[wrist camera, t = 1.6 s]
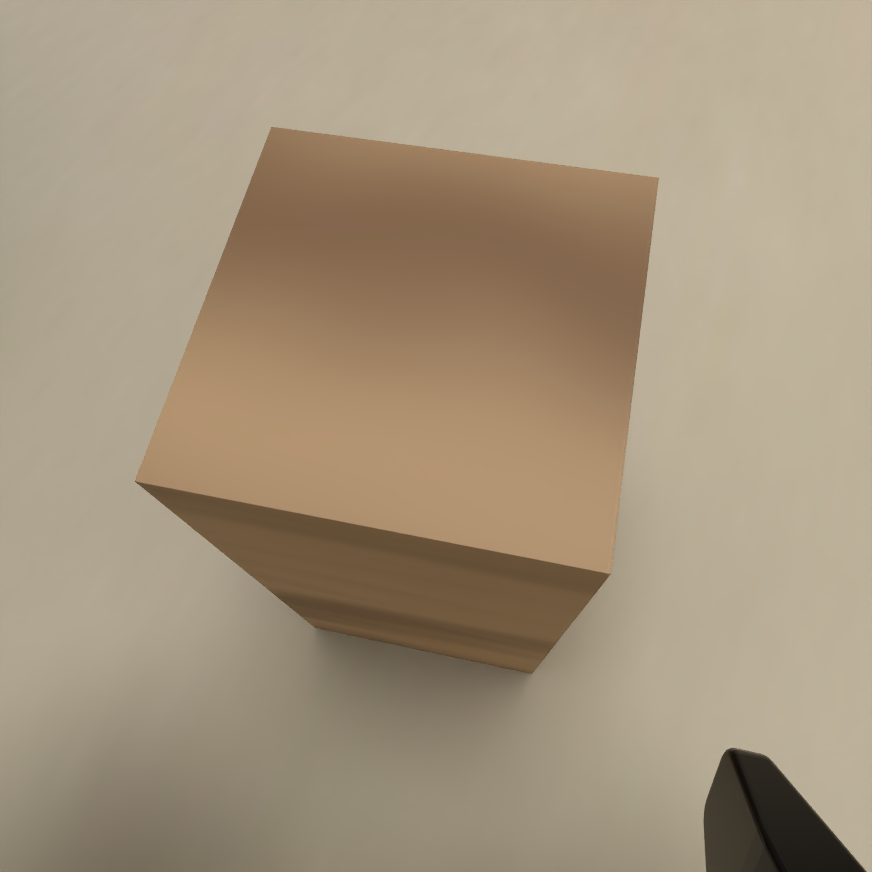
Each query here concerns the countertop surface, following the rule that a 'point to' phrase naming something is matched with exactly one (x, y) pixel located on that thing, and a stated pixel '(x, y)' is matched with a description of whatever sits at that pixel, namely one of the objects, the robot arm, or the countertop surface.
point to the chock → (415, 391)
